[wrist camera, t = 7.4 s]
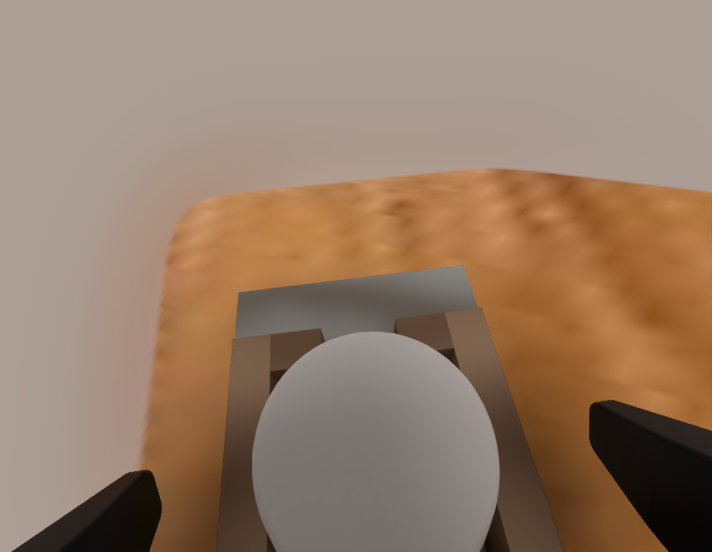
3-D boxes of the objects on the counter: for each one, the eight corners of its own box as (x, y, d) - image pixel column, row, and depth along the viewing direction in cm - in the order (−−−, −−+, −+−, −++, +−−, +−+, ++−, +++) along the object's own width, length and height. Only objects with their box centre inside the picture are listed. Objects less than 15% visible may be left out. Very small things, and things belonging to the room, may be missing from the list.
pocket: (632, 804, 10) (750, 944, 7) (206, 869, 10) (124, 1046, 7) (460, 273, 20) (476, 229, 17) (243, 299, 20) (217, 259, 16)
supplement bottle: (277, 499, 14) (129, 494, 5) (355, 380, 16) (334, 251, 8) (400, 604, 12) (455, 832, 4) (468, 454, 14) (595, 388, 6)
